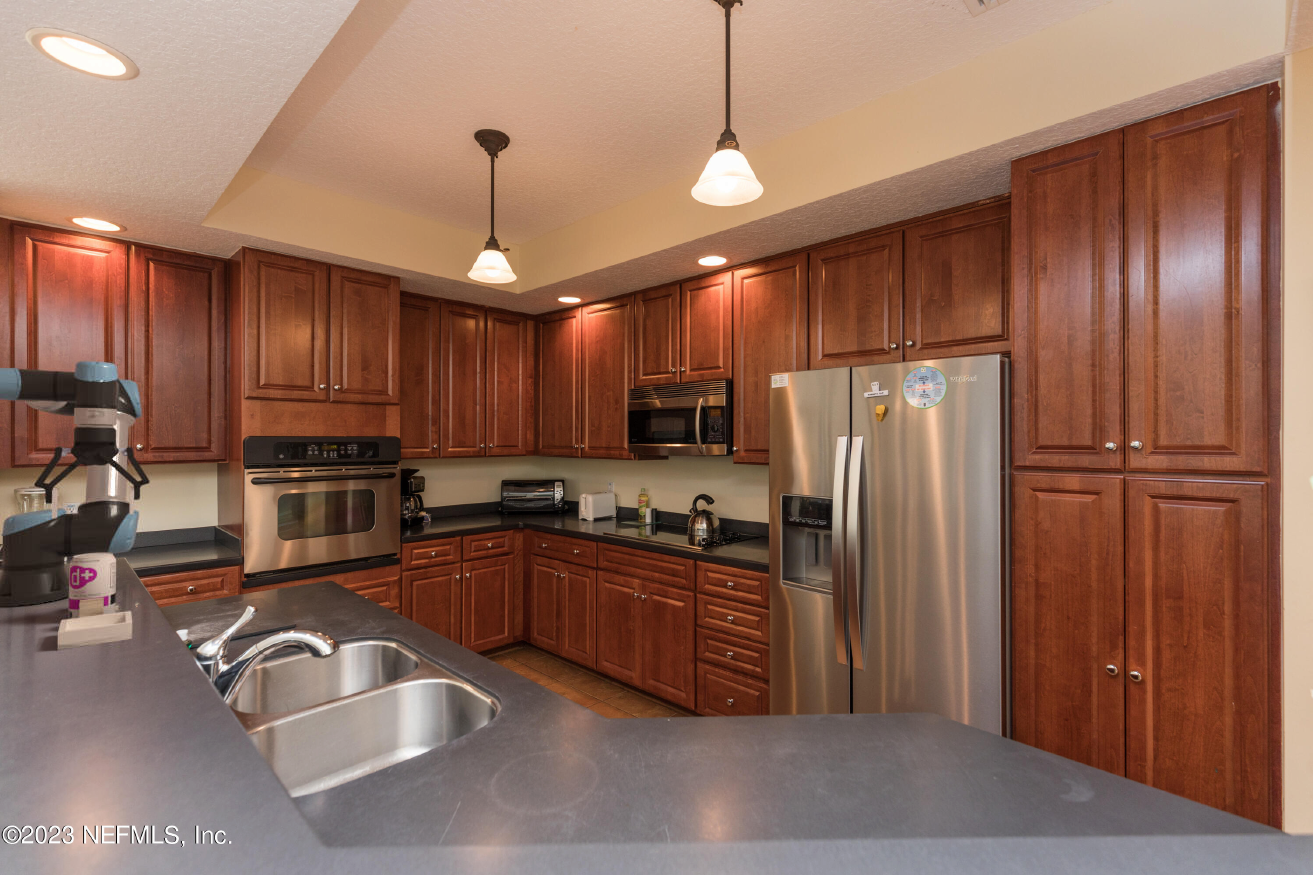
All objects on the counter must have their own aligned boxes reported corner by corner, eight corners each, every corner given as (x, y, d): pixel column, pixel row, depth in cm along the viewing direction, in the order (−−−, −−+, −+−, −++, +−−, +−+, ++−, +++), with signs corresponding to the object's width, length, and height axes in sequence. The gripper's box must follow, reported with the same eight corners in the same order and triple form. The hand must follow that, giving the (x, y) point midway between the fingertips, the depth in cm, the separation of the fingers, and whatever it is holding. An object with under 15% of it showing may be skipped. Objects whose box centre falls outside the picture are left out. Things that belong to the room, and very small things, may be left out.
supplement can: (93, 623, 143) (94, 558, 143) (58, 622, 144) (59, 558, 144) (124, 613, 152) (125, 552, 152) (91, 612, 152) (92, 551, 152)
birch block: (79, 626, 141) (80, 600, 141) (103, 623, 144) (103, 597, 144) (78, 630, 138) (79, 603, 138) (103, 627, 141) (103, 601, 141)
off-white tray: (61, 636, 134) (61, 619, 134) (130, 626, 142) (130, 610, 142) (57, 650, 125) (57, 632, 125) (131, 638, 133) (132, 622, 133)
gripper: (19, 425, 137) (17, 521, 137) (163, 427, 153) (161, 513, 153) (22, 425, 142) (21, 517, 142) (161, 427, 159) (160, 510, 159)
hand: (94, 515), depth 148 cm, fingers open, 13 cm apart
